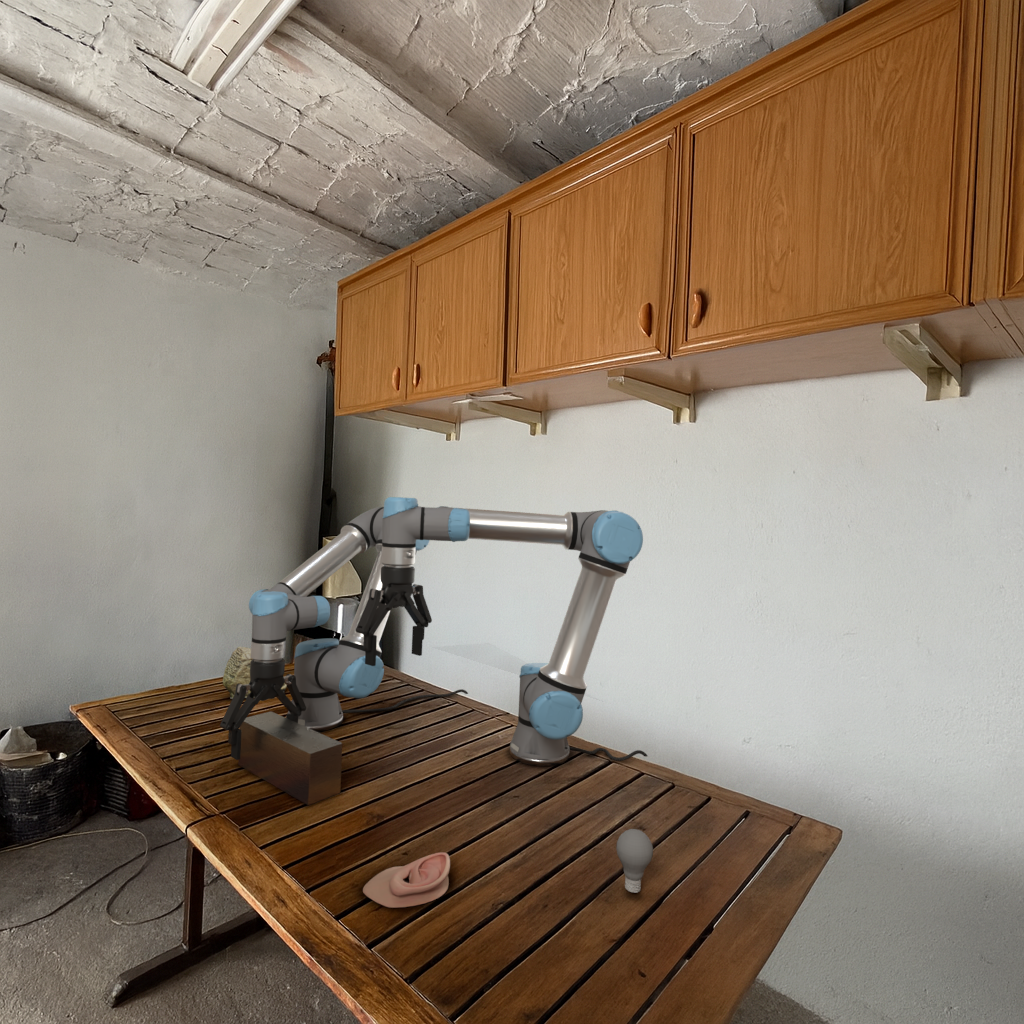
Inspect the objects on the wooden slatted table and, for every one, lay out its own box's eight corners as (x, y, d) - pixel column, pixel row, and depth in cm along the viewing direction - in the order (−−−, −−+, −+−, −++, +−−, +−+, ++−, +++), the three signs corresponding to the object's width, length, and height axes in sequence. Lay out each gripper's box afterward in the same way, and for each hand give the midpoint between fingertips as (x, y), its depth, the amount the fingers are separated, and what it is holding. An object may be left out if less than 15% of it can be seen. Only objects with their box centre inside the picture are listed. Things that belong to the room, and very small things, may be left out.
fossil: (218, 695, 195) (220, 647, 195) (278, 685, 208) (279, 640, 207) (228, 703, 189) (230, 653, 188) (289, 692, 201) (290, 645, 201)
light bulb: (610, 879, 108) (613, 822, 108) (644, 879, 109) (647, 822, 109) (619, 902, 102) (622, 840, 102) (655, 901, 103) (658, 840, 103)
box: (238, 765, 147) (239, 719, 147) (269, 755, 154) (271, 711, 153) (308, 805, 130) (310, 753, 130) (340, 792, 136) (342, 743, 136)
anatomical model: (355, 876, 100) (384, 838, 111) (354, 901, 100) (383, 861, 111) (435, 890, 97) (457, 850, 108) (434, 916, 97) (456, 873, 108)
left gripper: (223, 671, 135) (218, 770, 135) (323, 653, 155) (319, 740, 155) (206, 664, 140) (202, 760, 140) (305, 648, 159) (301, 732, 160)
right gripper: (363, 570, 130) (359, 673, 131) (449, 564, 150) (445, 653, 150) (341, 567, 135) (337, 665, 135) (426, 561, 155) (423, 647, 155)
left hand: (263, 749), depth 147 cm, fingers open, 13 cm apart
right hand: (394, 659), depth 143 cm, fingers open, 13 cm apart
